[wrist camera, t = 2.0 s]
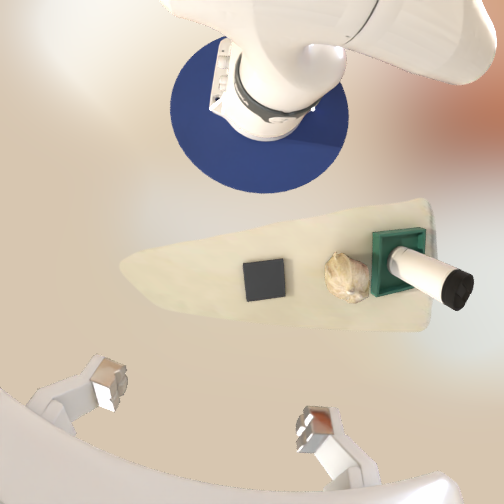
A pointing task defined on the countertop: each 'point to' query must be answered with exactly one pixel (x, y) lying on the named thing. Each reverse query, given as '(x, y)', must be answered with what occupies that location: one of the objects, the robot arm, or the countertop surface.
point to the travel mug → (431, 276)
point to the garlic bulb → (347, 278)
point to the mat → (264, 279)
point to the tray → (382, 247)
